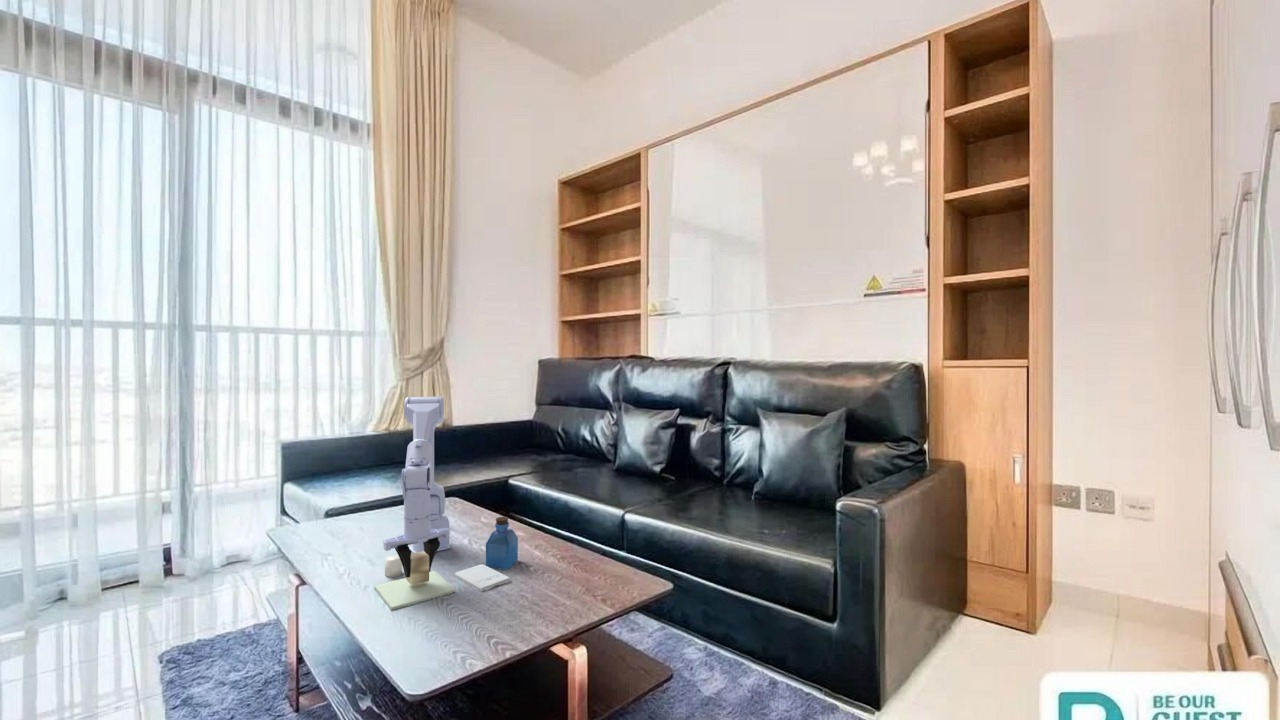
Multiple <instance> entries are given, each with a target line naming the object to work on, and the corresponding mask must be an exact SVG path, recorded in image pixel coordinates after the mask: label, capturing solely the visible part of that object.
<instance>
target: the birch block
mask: <svg viewBox="0 0 1280 720" xmlns="http://www.w3.org/2000/svg"><path fill="white" fill-rule="evenodd" d="M405 578H406V580H407V581H408V582H409V583H410V584H411V585H416V584H420V583H423V582H427V581H429V555H428V554H427V553H425V552H424V551H421V552H416V553H413V552H411V558H410V577H408V578H407V577H406V576H405Z"/></svg>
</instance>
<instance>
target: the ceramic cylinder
mask: <svg viewBox="0 0 1280 720" xmlns="http://www.w3.org/2000/svg"><path fill="white" fill-rule="evenodd" d="M402 574H403V565H402V562H401V560H400V558H399V555H398V554H395V555H390V556H386V557H385V559H384V576H385V577H387V578H396V577H398V576H402Z"/></svg>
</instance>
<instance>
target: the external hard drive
mask: <svg viewBox="0 0 1280 720" xmlns="http://www.w3.org/2000/svg"><path fill="white" fill-rule="evenodd" d="M453 577H454V578H455V577H456V579H457V580H459V581H461V582H462V581H463V583H464V584H466V585H468V586H470V587H471V586H472V588H473V587H474V588H473V589H475V588H476V589H475V590H477V589H478V590H477V591H478V592H480V591H483V592H485V591H487V590H486V589H488V590H490V589H489V588H491V589H493V588H492V587H494V586H495V587H498V586H497V585H499V586H502V585H504V584H503V583H505V584H506V583H510V582H512V578H511V577H509V576H507V575H505V574H504V573H501V572H499V571H498V570H497V569H496V570H495V568H490V567H488V566H486V564H484V563H482V564H481V563H480V564H478V565H475V566H472V567H468V568H465V569H462V570H459V571H456V572H454V575H453ZM501 584H502V585H501ZM495 587H494V588H495ZM484 590H485V591H484Z"/></svg>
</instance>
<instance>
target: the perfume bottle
mask: <svg viewBox="0 0 1280 720" xmlns="http://www.w3.org/2000/svg"><path fill="white" fill-rule="evenodd" d="M508 520H509V517H508V516H499V517H497V518H495V521H496V523H495V526H494V527H495V530H494V531H492V532H491V534H490V535H489V538H488V539H487V540H486V543H485V565H486V566H488V567H490V568H492V569H498V568H501V569H500V570H509V569H511V568H512V566H514V564H515V563H517V561H519V559H518V558H519V556H518V553H519V548H518V547H519V544H518V543H519V542H518V541H519V537H518V535H517V534H516V532H515V531H514V530H513V528H509V526H510V523H509V521H508Z"/></svg>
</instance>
